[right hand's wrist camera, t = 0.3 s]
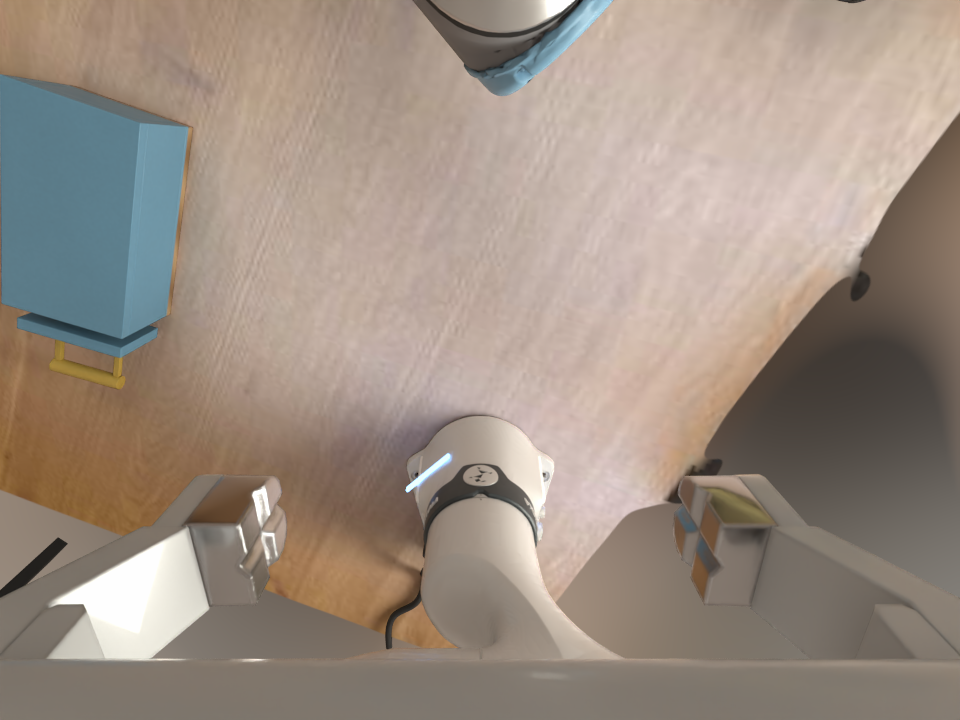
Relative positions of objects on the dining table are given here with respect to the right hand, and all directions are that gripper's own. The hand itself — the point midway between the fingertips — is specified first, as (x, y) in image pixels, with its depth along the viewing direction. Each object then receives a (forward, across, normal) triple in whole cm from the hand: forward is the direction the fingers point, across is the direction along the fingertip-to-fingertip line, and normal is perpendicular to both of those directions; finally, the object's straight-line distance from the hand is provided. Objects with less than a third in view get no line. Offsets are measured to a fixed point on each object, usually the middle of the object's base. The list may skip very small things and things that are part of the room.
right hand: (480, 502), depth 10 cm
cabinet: (+48, -37, +1) cm, 61 cm away
